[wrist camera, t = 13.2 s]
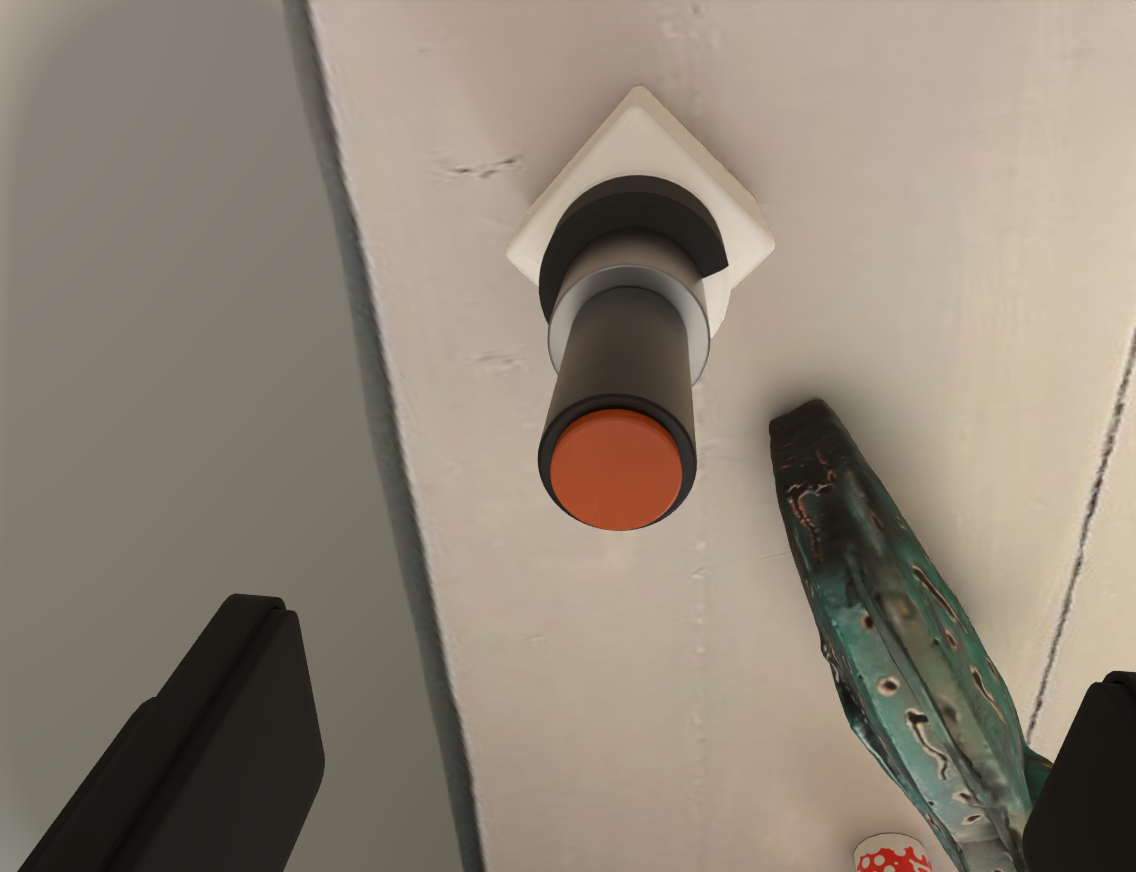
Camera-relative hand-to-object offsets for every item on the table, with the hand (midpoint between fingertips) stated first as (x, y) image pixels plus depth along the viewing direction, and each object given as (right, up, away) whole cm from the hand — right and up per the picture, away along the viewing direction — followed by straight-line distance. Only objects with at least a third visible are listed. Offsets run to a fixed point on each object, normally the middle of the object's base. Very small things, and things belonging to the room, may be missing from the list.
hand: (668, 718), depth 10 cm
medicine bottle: (+2, +14, +26) cm, 29 cm away
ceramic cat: (+15, -2, +33) cm, 36 cm away
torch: (+1, +8, +15) cm, 17 cm away
